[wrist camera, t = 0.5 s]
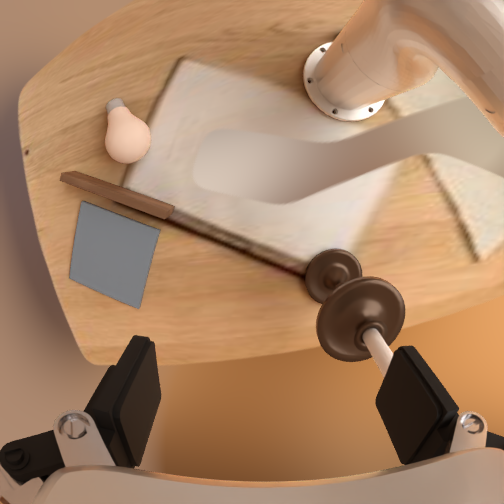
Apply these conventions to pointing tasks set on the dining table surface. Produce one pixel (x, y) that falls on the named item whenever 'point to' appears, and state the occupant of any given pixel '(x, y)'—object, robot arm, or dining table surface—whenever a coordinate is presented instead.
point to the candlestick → (354, 309)
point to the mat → (112, 253)
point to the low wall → (118, 194)
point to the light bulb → (125, 134)
